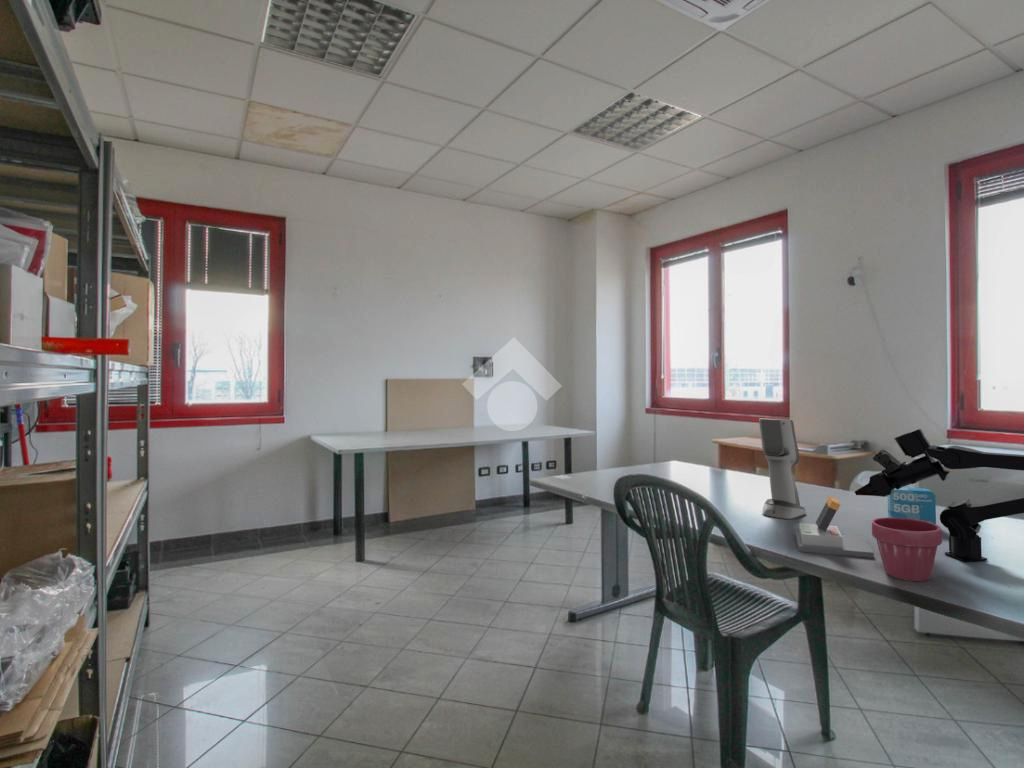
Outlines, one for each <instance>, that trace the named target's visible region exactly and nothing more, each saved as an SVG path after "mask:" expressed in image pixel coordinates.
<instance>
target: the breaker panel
mask: <svg viewBox="0 0 1024 768" xmlns="http://www.w3.org/2000/svg"><path fill="white" fill-rule="evenodd" d="M798 524H799V527H798V528H799V529H798V530H795V531H794V532H795V540H796V544H797V547H798V552H799V553H800V552H803V553H813V554H822V555H823V554H825V555H833V556H834V555H835V556H846V557H857V558H868V559H875V553H874V551H873V549H872V548H871V546H870V545H869V543H868V542H867V540H866V538H865V536H863V535H851V534H849V535H848V534H841V532H840V530H839V527H838V526H837V525H829V526H828V528H827V530H826V532H825V531H823V530H821V529H819V528H818V526H817V524H813V523H798Z"/></svg>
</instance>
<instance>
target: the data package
mask: <svg viewBox="0 0 1024 768" xmlns="http://www.w3.org/2000/svg"><path fill="white" fill-rule="evenodd" d="M886 497H887V518H889V517H893V518H909V519H917V520H922V521H927V522H931V523H934V524H936V525H937V513H936V512H937V510H936V508H937V507H936V502H937V501H936V495H935V493H934V492H933V491H932V490H930V489H928V488H919V487H902V488H900V489H896V488H895V489H894V492H893V493H892V494H890V495H888V496H886Z"/></svg>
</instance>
